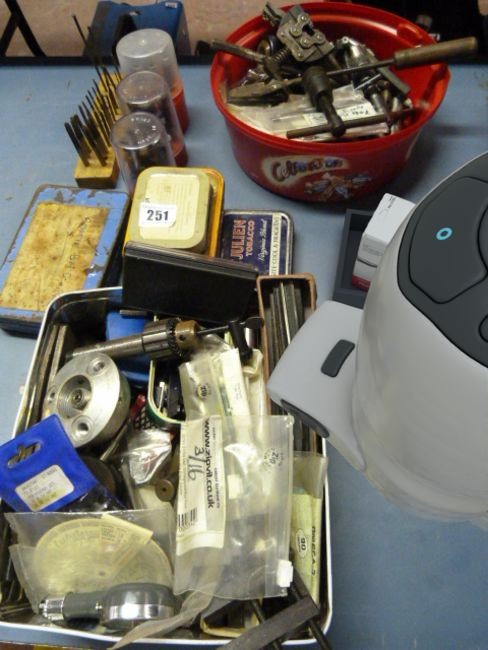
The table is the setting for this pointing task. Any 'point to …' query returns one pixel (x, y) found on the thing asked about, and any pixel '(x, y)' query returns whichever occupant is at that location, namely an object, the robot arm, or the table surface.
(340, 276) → the tub
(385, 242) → the ink box
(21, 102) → the table surface
